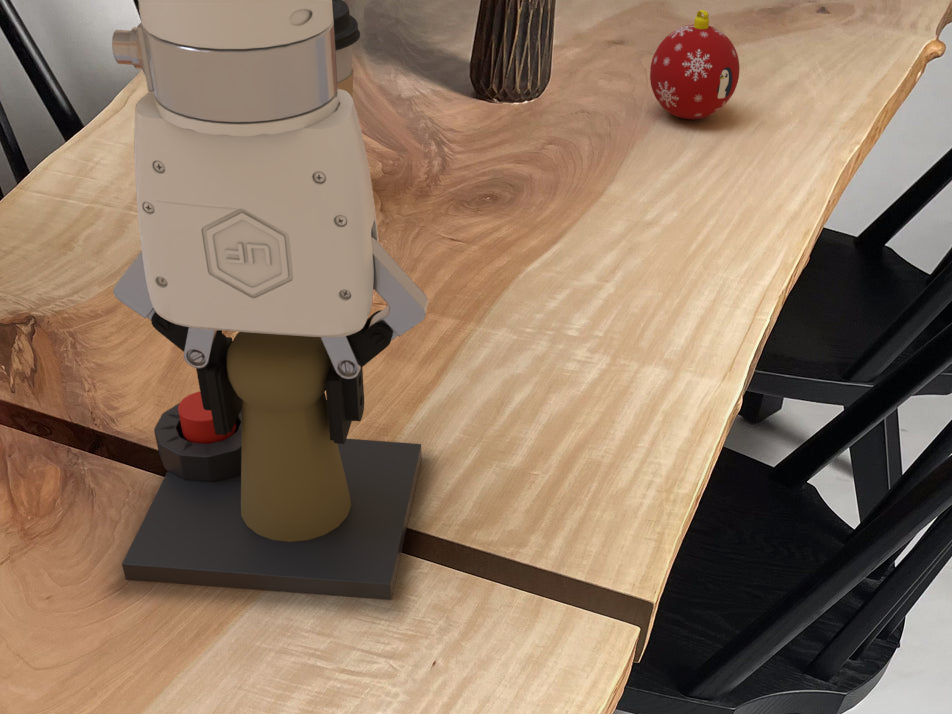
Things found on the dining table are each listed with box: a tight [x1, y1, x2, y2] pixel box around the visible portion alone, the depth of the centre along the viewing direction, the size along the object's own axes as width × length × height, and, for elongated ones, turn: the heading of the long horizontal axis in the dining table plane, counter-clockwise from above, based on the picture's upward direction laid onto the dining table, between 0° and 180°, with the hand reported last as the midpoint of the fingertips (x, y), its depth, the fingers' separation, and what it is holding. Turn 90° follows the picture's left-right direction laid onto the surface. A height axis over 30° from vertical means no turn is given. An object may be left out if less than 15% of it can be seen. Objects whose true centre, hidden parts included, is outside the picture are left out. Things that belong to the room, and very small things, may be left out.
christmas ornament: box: [649, 9, 740, 120], centre depth 106 cm, size 9×9×10 cm
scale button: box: [178, 391, 236, 444], centre depth 63 cm, size 3×3×2 cm
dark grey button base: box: [121, 402, 423, 601], centre depth 61 cm, size 15×13×3 cm
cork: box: [226, 332, 351, 542], centre depth 57 cm, size 6×6×11 cm
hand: (286, 420), depth 57 cm, fingers closed on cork, 5 cm apart
